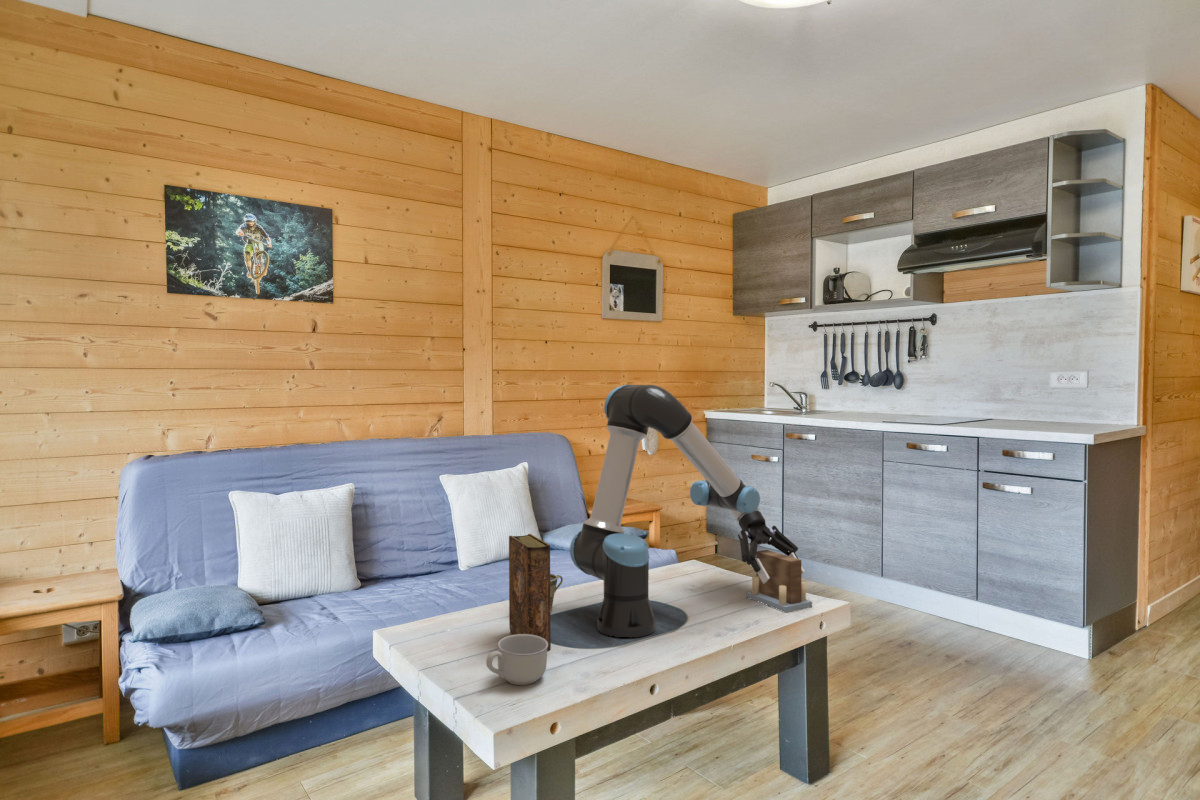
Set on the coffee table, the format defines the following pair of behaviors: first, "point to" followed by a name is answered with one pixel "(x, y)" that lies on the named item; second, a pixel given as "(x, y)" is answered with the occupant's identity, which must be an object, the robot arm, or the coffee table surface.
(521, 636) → the teacup
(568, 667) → the coffee table surface
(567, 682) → the coffee table surface
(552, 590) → the ceramic cup
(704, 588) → the coffee table surface
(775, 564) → the board
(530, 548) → the book
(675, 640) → the coffee table surface
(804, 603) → the cradle
